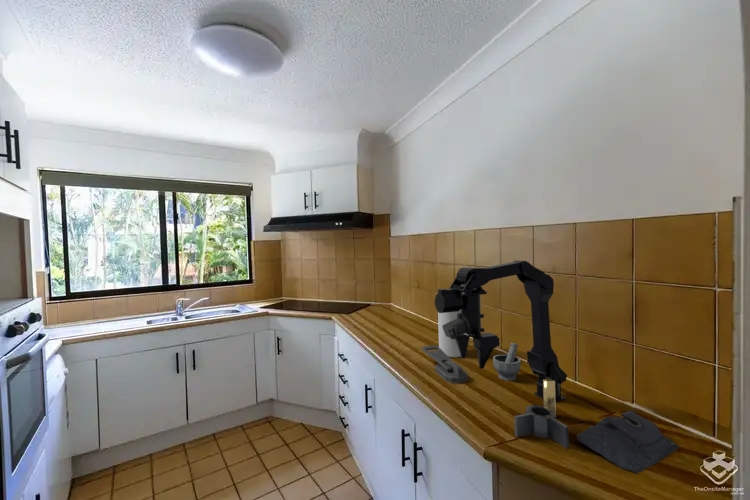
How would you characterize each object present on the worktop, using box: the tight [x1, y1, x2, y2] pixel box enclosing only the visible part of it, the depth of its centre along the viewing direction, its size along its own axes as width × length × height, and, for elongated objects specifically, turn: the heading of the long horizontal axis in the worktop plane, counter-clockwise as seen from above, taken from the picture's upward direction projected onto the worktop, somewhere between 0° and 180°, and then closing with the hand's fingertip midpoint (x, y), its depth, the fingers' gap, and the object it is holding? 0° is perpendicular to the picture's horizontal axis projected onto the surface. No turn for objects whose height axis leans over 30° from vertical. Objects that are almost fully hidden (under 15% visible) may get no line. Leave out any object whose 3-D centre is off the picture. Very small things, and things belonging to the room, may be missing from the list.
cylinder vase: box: [437, 310, 468, 358], centre depth 148 cm, size 12×12×25 cm
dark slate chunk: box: [576, 410, 680, 474], centre depth 78 cm, size 15×22×5 cm
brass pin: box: [543, 379, 557, 416], centre depth 92 cm, size 3×3×10 cm
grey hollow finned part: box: [513, 404, 570, 449], centre depth 82 cm, size 11×11×5 cm
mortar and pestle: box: [492, 342, 522, 382], centre depth 120 cm, size 11×9×12 cm
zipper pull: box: [421, 345, 469, 384], centre depth 128 cm, size 9×7×25 cm
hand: (472, 363), depth 94 cm, fingers open, 9 cm apart
